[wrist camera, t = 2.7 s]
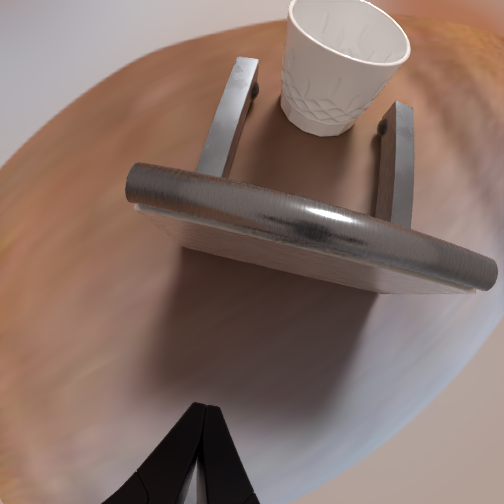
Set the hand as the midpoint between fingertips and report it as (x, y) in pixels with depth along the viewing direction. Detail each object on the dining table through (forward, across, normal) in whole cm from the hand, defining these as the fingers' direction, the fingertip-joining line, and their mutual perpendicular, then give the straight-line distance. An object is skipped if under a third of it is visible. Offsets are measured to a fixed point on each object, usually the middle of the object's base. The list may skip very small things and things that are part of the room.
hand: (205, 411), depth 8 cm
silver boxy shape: (+16, -4, -6) cm, 18 cm away
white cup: (+20, -4, -13) cm, 24 cm away
